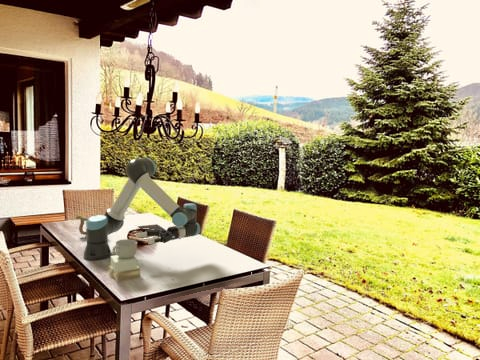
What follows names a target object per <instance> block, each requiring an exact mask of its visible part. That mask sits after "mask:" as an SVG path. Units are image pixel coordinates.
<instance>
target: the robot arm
mask: <svg viewBox="0 0 480 360" xmlns="http://www.w3.org/2000/svg"><path fill="white" fill-rule="evenodd" d="M156 170H157V166H156V163H155V162H154V160H152V159H151V158H149V157H141V158H133V159H131V160H129V161H128V162H127V163H126V166H125V173H126V176H127V177H128V179H127V181H126V182H125V184H124V185H123V187H122V189H121V191H120V192H119V194H118V196H117V197H116V199H115V201H114V202H113V203H112V206H111V207H108V208H107V209H106V211H105V213H104V214H97V215H93V216H92V215H91V216H89V217H90V218H89V217H87V218H88V219H87V221H86V222H87V224H86V223H85V224H86V225H85V227H86V229H87V239H86V246H85V248H84V251H83V258H84V259H85V260H88V259H89V260H90V261H100V260H106V259H108V258H111V256H112V250H111V248H110V245H109V237H108V236H109V235H110V234H114V233H116V232H118V231H119V230H121V229H122V228H123V227H124V223H125V222H124V220H125V218H126V217H125V213H126V212H127V210H128V209H129V207H130V205H131V203H133V200H134V198H135V197H136V195H137V193H138V192H139V190H140V188H141V190H142V191H143V192H145V193H146V194H147V195H148V196H149V198H151V199H152V200H153V201H154V202H155V203H156V204H157V205H158V206H159V207H160V208H161V209H162V210H163V211H164V212H165V213H166V214H167V215H169V217H170V218H171V221H172V224H173V226H169V227H168V228H167V229H165V230H163V229H160V230H145V232H142V231H141V232H136V233H135V239H140V238H147V237H150V236H151V238H148V239H147V243H148V244H147V245H153V244H158V243H163V244H166V243H168V242H170V241H174V240H181V239H184V238H190V237H195V236H198V235H199V234H200V232H201V225H200V224H199V223H198V222H197V210H198V209H197V205H196V204H195V203H192V202H191V203H190V202H189V203H187V202H186V203H184V204H183V207H181V206H180V205H179V204H178V203H177V202H176V201H175V200H174V199H172V197H170V196H169V194H167V193H166V192H165V191H164V189H162V187H161V186H159V184H157V183H156V182H155V181H154V180H153V179H152V178H151V177H152V176H154V175H155V173H156ZM166 230H167V231H166ZM89 260H88V261H89Z"/></svg>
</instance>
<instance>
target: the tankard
mask: <svg viewBox="0 0 480 360" xmlns="http://www.w3.org/2000/svg"><path fill="white" fill-rule="evenodd" d="M90 217H91V216H89V217H86V218H85V217H83V216H81V215H77V216H75V219H76V220H80V221H79V222H80V223H79V227H78V231H79V233H80V235H83V236H84V238H85V239H86V238H87V228H86V229H85V231H84V230H83V228H84V225H85V224H87V219H88V218H90Z"/></svg>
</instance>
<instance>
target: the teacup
mask: <svg viewBox="0 0 480 360" xmlns="http://www.w3.org/2000/svg"><path fill="white" fill-rule="evenodd" d="M137 247H138V241H137V240H134V239H128V238H126V239H125V238H124V239H119V240H116V241H115V245H114V246H113V248H112V253H114V255H117V256H119V257H120V258H123V259H128V258H131V257H133V256H135V255H136V253H137V250H138V248H137Z"/></svg>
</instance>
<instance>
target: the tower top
mask: <svg viewBox="0 0 480 360" xmlns="http://www.w3.org/2000/svg"><path fill="white" fill-rule="evenodd" d="M110 266H112V268H113V270H114V271H115V272H120V271H127V270H134V269H137V266H138V259H137V257H136V256H135V255H134V256H133V257H131V258H128V259H123V258H120V257H119V256H117V255H116V254H114V255H111V256H110Z"/></svg>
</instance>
